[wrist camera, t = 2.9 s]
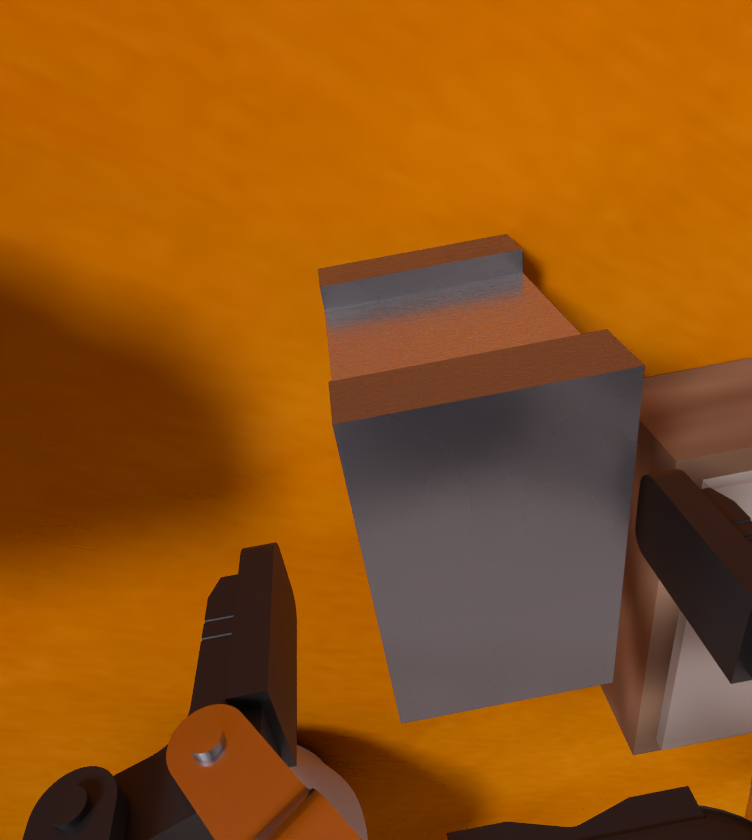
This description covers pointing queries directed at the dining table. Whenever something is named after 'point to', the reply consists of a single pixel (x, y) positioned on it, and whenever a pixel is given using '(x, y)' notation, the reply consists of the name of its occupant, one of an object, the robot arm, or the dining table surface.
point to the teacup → (330, 789)
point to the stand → (643, 591)
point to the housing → (481, 473)
